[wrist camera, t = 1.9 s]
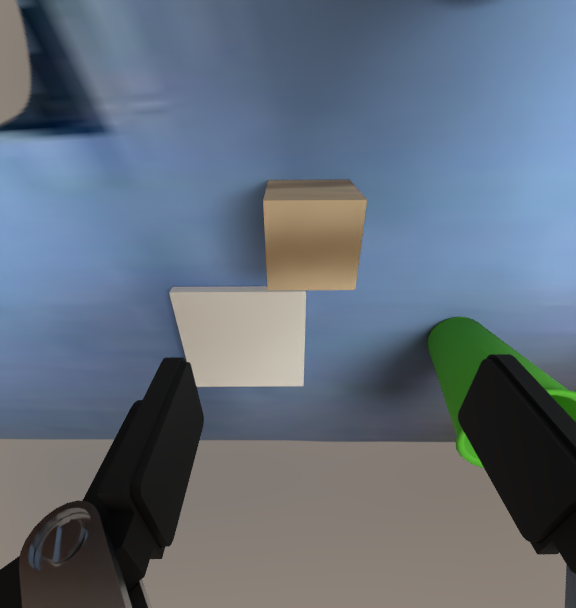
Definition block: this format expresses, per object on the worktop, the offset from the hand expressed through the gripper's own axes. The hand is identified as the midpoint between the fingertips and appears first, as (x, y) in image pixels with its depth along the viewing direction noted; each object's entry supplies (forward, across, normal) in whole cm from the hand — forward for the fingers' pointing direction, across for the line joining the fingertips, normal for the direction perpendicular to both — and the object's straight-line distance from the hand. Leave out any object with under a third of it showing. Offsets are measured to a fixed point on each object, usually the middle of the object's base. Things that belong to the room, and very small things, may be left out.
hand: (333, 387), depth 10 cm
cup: (+17, -15, +12) cm, 26 cm away
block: (+17, 0, 0) cm, 17 cm away
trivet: (+17, +6, +12) cm, 21 cm away
